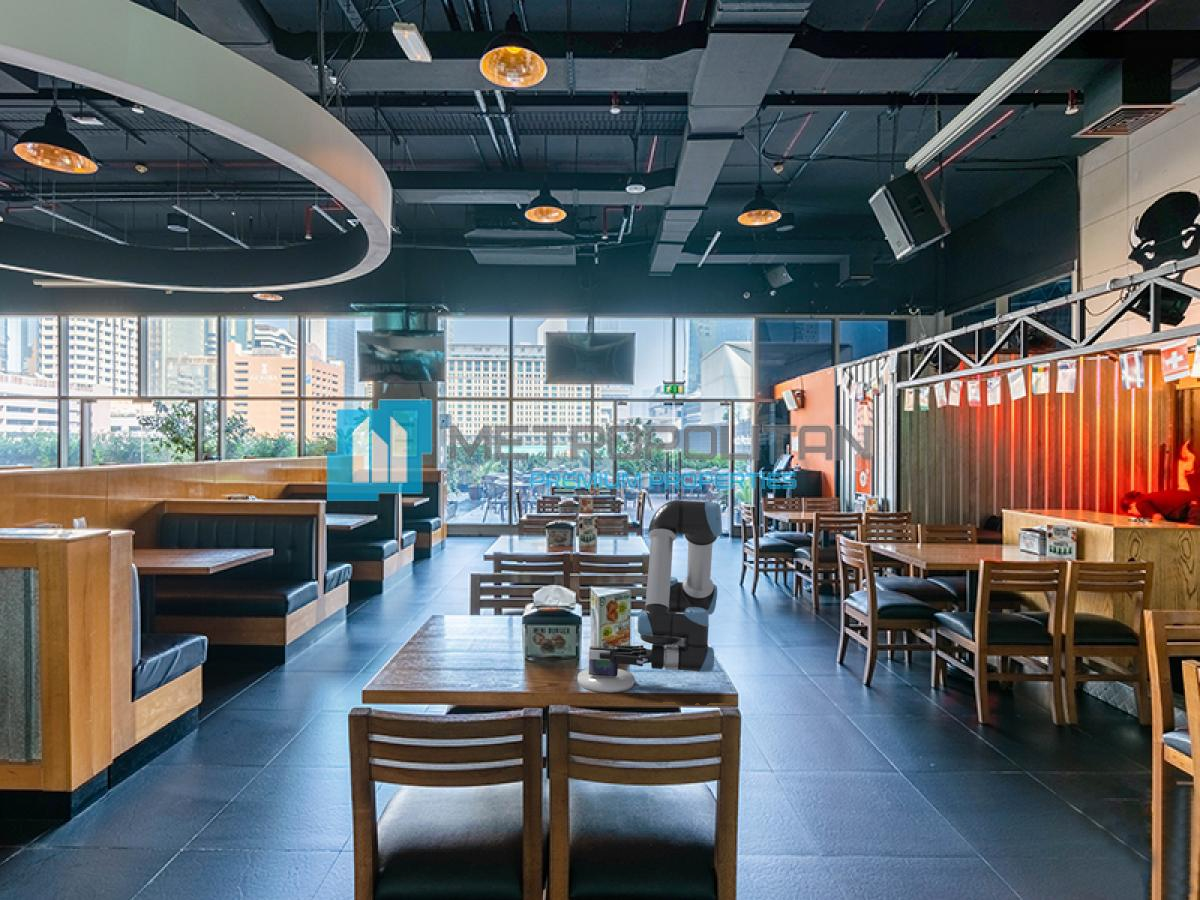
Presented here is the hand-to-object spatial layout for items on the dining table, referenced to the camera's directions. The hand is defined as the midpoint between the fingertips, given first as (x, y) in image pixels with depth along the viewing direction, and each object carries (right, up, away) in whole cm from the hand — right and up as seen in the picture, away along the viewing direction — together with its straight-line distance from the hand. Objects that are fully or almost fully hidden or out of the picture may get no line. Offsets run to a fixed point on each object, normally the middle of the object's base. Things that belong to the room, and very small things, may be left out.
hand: (589, 652), depth 219 cm
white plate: (+5, -9, 0) cm, 11 cm away
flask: (+4, -7, 0) cm, 8 cm away
